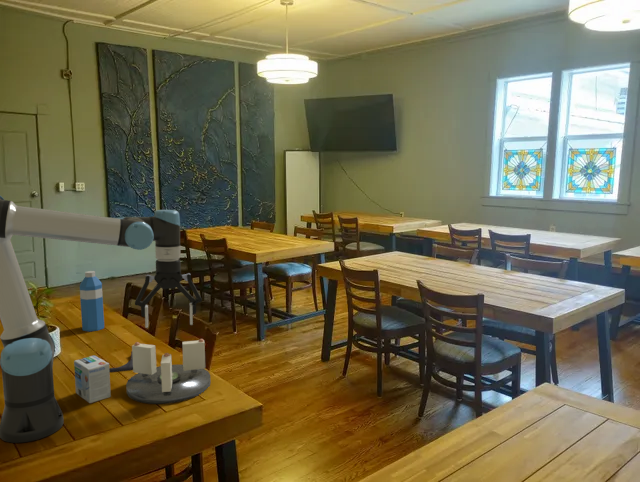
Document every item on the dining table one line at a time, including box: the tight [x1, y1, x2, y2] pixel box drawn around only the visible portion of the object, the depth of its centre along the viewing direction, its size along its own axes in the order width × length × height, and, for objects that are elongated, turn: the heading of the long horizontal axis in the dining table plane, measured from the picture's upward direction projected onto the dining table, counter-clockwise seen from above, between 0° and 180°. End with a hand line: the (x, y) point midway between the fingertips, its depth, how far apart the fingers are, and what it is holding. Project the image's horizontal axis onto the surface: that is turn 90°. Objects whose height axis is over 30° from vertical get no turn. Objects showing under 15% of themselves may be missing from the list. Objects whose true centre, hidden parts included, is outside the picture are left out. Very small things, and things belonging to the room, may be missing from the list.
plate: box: [125, 364, 211, 405], centre depth 167 cm, size 26×26×4 cm
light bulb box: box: [73, 355, 112, 404], centre depth 160 cm, size 11×7×11 cm, turn 47°
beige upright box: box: [181, 338, 206, 373], centre depth 172 cm, size 7×3×11 cm, turn 107°
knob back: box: [131, 341, 157, 377], centre depth 169 cm, size 7×3×11 cm, turn 73°
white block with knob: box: [160, 352, 173, 392], centre depth 158 cm, size 7×3×11 cm, turn 13°
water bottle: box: [79, 270, 105, 332], centre depth 225 cm, size 9×9×25 cm
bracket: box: [109, 350, 133, 373], centre depth 187 cm, size 14×15×3 cm
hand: (169, 325), depth 165 cm, fingers open, 13 cm apart
